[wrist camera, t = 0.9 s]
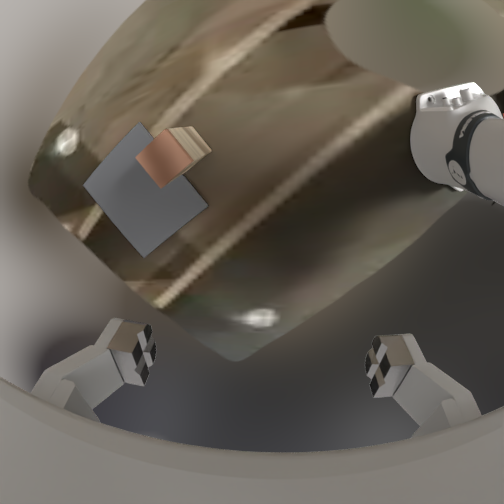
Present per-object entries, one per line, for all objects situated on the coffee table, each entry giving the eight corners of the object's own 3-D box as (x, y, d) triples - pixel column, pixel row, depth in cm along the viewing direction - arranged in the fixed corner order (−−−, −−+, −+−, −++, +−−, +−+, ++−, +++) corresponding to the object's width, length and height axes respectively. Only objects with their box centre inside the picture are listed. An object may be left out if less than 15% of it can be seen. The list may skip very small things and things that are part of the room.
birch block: (192, 126, 39) (164, 129, 28) (212, 150, 40) (191, 161, 30) (168, 146, 40) (135, 157, 30) (187, 170, 42) (160, 188, 31)
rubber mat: (140, 121, 38) (139, 122, 38) (208, 205, 44) (208, 206, 44) (84, 184, 43) (83, 185, 43) (144, 257, 49) (143, 258, 49)
